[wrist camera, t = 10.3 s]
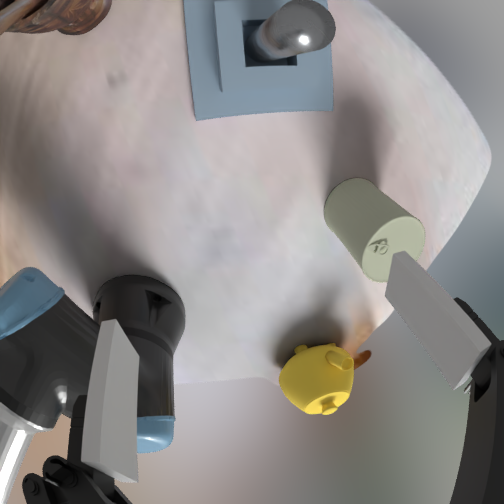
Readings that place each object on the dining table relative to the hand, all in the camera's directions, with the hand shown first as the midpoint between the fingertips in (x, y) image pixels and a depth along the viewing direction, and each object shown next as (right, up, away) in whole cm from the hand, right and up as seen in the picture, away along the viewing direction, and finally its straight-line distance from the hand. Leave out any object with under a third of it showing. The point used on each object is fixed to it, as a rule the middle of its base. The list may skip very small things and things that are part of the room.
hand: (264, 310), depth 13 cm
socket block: (0, +25, +13) cm, 28 cm away
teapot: (+12, -18, +45) cm, 50 cm away
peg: (+1, +25, +12) cm, 28 cm away
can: (+14, +9, +27) cm, 32 cm away
